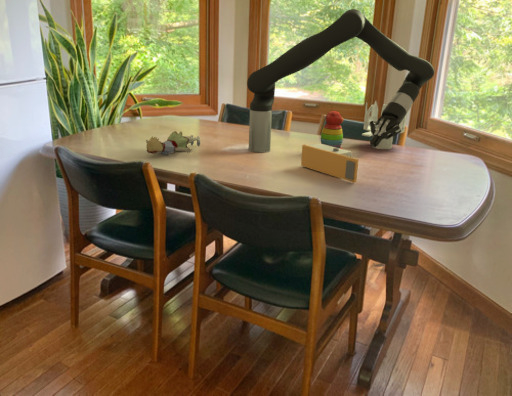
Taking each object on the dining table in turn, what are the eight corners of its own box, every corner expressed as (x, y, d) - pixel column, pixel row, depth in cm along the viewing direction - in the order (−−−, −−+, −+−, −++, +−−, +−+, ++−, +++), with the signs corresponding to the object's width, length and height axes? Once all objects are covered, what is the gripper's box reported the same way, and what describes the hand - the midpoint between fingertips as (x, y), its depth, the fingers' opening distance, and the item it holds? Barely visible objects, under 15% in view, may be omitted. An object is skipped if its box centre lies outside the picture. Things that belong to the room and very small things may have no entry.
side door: (299, 165, 175) (300, 145, 173) (302, 165, 176) (304, 144, 174) (352, 183, 156) (355, 160, 153) (356, 182, 157) (358, 159, 154)
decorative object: (344, 151, 203) (348, 105, 196) (371, 141, 225) (375, 99, 218) (383, 158, 193) (389, 109, 186) (407, 147, 215) (413, 103, 208)
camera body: (303, 166, 177) (304, 143, 174) (318, 163, 181) (319, 141, 178) (337, 177, 164) (339, 153, 161) (352, 173, 169) (355, 150, 166)
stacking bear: (342, 156, 194) (346, 113, 188) (318, 154, 195) (321, 112, 190) (343, 150, 204) (347, 110, 198) (320, 149, 205) (323, 108, 200)
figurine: (173, 142, 211) (125, 153, 186) (173, 123, 208) (124, 132, 183) (218, 151, 199) (173, 164, 174) (219, 131, 197) (173, 142, 172)
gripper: (417, 117, 164) (391, 155, 160) (385, 113, 174) (361, 148, 170) (410, 103, 159) (384, 142, 156) (378, 99, 169) (353, 135, 165)
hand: (372, 145), depth 163 cm, fingers closed
